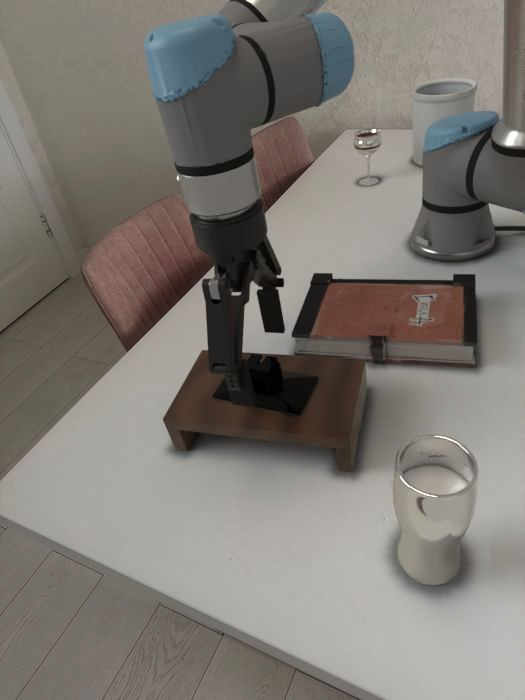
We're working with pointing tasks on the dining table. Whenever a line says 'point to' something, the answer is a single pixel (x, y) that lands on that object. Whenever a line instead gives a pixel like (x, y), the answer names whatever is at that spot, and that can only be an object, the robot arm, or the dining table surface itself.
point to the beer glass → (433, 505)
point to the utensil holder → (438, 106)
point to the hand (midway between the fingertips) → (261, 364)
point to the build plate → (274, 386)
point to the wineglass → (367, 148)
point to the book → (390, 320)
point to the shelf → (250, 422)
